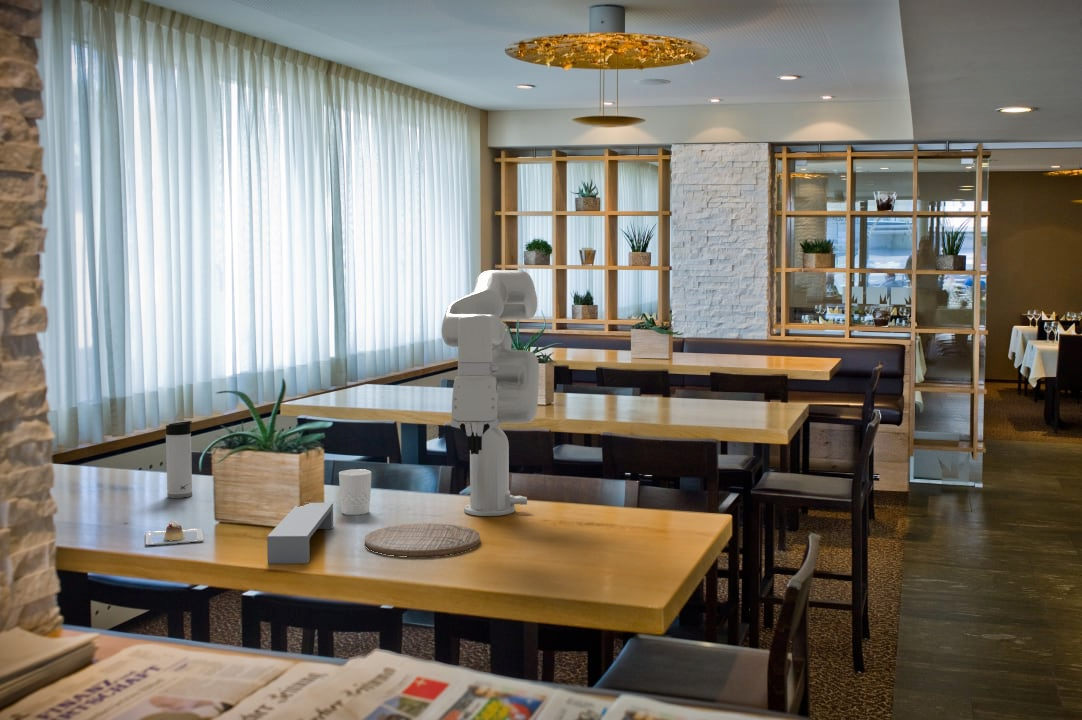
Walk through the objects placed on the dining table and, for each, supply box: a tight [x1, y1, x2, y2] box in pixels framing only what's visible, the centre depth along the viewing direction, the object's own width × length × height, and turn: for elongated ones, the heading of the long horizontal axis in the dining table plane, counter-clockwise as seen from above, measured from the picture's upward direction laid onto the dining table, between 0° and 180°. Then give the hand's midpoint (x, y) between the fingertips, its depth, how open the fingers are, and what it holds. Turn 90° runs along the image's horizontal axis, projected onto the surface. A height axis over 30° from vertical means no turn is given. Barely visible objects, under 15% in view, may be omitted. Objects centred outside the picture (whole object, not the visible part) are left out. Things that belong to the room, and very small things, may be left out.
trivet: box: [364, 523, 481, 558], centre depth 240 cm, size 25×25×2 cm
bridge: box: [266, 502, 334, 565], centre depth 239 cm, size 8×33×6 cm, turn 2°
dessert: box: [145, 519, 204, 547], centre depth 244 cm, size 12×12×5 cm
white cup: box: [338, 469, 372, 516], centre depth 271 cm, size 8×8×10 cm
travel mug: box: [165, 420, 193, 499], centre depth 290 cm, size 6×7×20 cm
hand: (474, 453), depth 243 cm, fingers closed
